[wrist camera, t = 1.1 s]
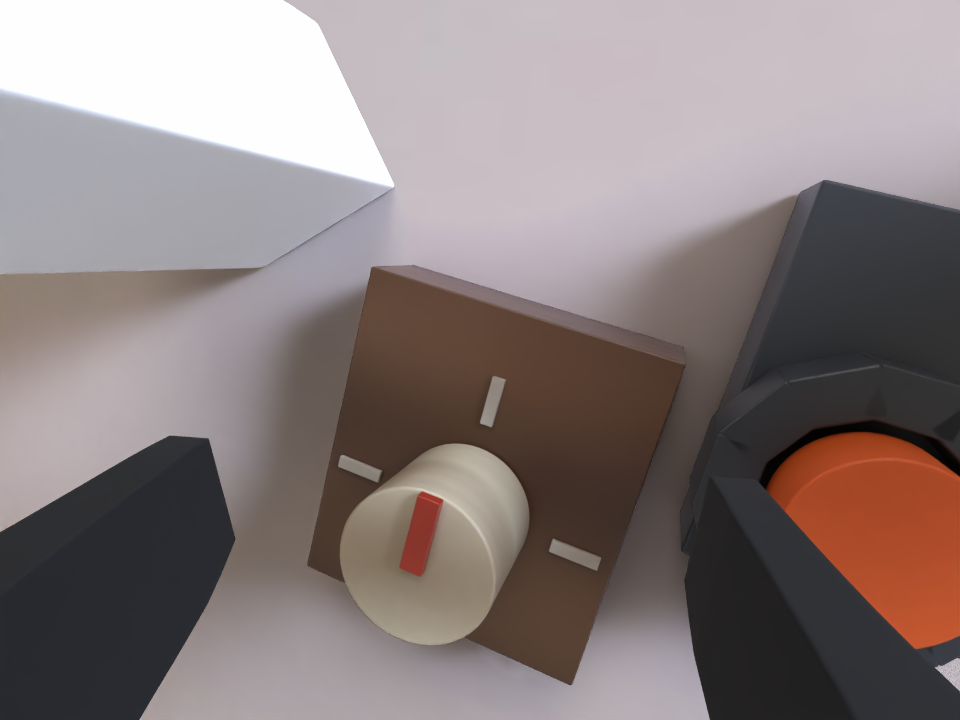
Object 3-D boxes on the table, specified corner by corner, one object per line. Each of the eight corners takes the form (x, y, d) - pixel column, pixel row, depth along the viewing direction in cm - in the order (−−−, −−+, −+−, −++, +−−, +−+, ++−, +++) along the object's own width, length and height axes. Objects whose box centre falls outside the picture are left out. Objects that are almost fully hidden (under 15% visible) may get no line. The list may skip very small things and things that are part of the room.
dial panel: (584, 630, 21) (569, 693, 18) (351, 530, 23) (302, 571, 20) (684, 347, 18) (686, 364, 15) (413, 264, 20) (368, 266, 17)
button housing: (918, 617, 18) (996, 732, 13) (660, 520, 19) (656, 595, 15) (1099, 259, 15) (1265, 261, 11) (783, 186, 17) (820, 162, 13)
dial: (508, 594, 18) (466, 682, 14) (387, 542, 19) (317, 612, 15) (547, 471, 17) (512, 531, 13) (417, 423, 18) (350, 466, 14)
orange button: (917, 627, 14) (955, 685, 12) (736, 559, 15) (744, 602, 13) (998, 468, 13) (1052, 503, 11) (798, 406, 14) (817, 428, 12)
